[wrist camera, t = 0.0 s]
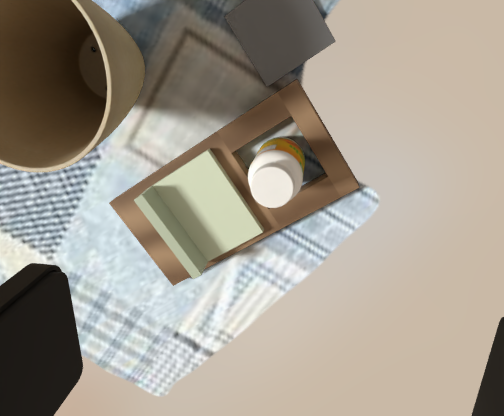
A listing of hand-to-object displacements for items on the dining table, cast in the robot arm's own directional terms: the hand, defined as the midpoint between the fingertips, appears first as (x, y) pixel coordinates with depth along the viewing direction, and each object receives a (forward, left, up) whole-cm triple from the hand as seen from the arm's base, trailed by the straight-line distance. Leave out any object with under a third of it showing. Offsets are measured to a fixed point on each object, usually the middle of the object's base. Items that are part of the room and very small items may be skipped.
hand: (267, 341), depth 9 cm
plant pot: (-15, -16, -38) cm, 43 cm away
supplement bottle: (+4, -6, -38) cm, 38 cm away
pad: (-8, +2, -37) cm, 38 cm away
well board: (+4, -12, -37) cm, 40 cm away
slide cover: (+4, -16, -35) cm, 39 cm away
